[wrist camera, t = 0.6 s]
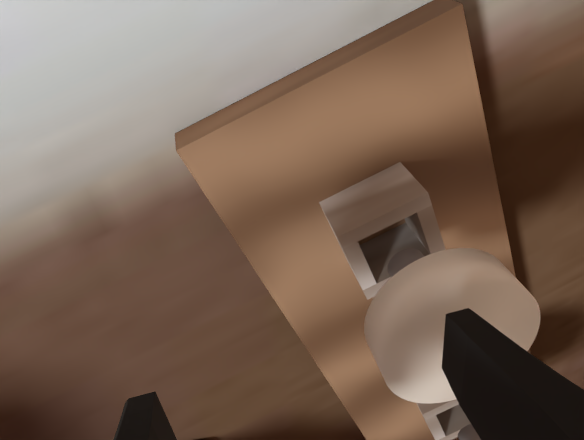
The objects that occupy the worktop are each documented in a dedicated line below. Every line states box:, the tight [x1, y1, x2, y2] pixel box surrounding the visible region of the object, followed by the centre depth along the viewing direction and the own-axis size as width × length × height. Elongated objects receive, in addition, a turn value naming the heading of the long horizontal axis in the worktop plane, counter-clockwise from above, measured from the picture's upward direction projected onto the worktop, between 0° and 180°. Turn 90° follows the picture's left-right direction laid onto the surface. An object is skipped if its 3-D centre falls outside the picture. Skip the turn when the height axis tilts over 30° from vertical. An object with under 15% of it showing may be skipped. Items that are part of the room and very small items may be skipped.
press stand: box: [175, 0, 531, 440], centre depth 24 cm, size 26×11×4 cm, turn 24°
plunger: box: [364, 248, 540, 404], centre depth 16 cm, size 5×5×4 cm
